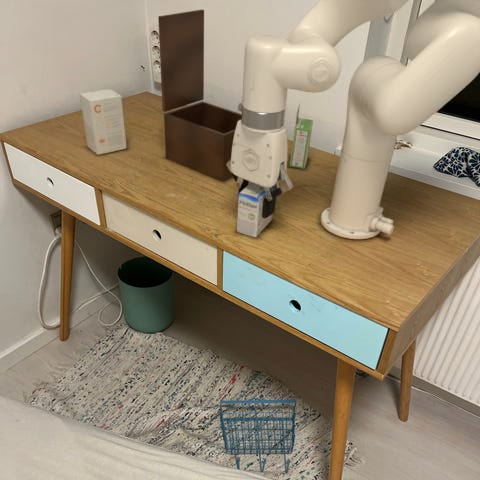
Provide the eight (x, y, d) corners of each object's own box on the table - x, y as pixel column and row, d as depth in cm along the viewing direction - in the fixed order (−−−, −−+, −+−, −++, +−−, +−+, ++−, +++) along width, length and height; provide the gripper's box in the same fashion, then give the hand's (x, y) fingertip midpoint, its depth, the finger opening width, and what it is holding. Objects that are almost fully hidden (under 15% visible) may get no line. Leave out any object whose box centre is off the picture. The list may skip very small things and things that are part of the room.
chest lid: (204, 9, 113) (201, 9, 114) (160, 16, 105) (158, 16, 105) (203, 99, 126) (201, 98, 126) (164, 112, 118) (162, 111, 118)
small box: (115, 140, 132) (110, 88, 123) (127, 149, 128) (122, 95, 120) (86, 146, 128) (78, 92, 119) (97, 155, 124) (90, 100, 116)
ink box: (305, 169, 124) (313, 114, 116) (289, 167, 125) (296, 112, 116) (307, 158, 130) (315, 104, 121) (292, 156, 130) (299, 102, 121)
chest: (258, 164, 125) (261, 120, 118) (222, 181, 117) (224, 135, 110) (202, 143, 134) (202, 101, 126) (165, 158, 125) (163, 113, 118)
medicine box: (252, 215, 106) (255, 176, 100) (272, 221, 104) (276, 181, 99) (236, 232, 100) (238, 192, 94) (256, 238, 99) (259, 198, 93)
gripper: (211, 109, 89) (210, 202, 101) (291, 136, 82) (280, 233, 94) (238, 100, 94) (234, 190, 106) (315, 124, 86) (302, 218, 98)
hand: (255, 209), depth 100 cm, fingers closed on medicine box, 5 cm apart
